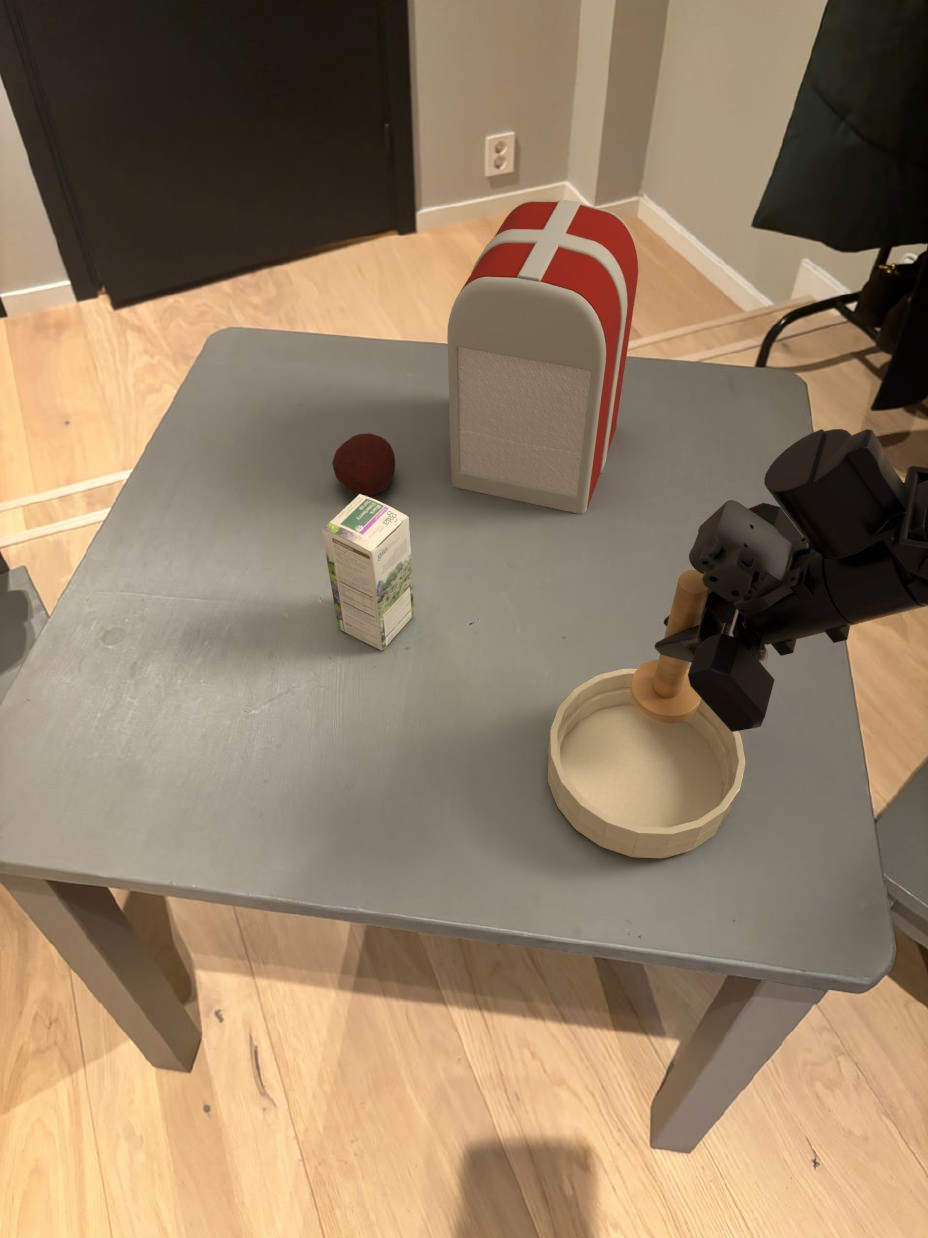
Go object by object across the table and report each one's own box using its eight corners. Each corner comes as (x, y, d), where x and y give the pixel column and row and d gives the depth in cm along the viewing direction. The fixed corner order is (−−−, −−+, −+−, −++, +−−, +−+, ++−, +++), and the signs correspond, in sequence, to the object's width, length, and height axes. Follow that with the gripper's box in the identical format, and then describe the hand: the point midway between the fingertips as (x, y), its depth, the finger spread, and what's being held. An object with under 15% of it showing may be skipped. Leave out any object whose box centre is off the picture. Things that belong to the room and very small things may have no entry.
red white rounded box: (447, 486, 104) (440, 267, 84) (492, 398, 115) (495, 185, 94) (586, 515, 101) (615, 295, 80) (619, 422, 112) (651, 206, 91)
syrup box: (370, 594, 94) (356, 489, 83) (417, 617, 92) (409, 512, 81) (337, 630, 91) (318, 526, 80) (384, 654, 89) (371, 551, 78)
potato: (322, 498, 103) (315, 458, 99) (352, 455, 108) (347, 414, 104) (381, 513, 102) (376, 473, 97) (409, 468, 107) (406, 427, 102)
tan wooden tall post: (686, 662, 80) (719, 547, 69) (709, 718, 76) (748, 605, 65) (621, 672, 79) (644, 557, 68) (641, 728, 76) (668, 617, 64)
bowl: (745, 730, 83) (758, 698, 79) (712, 888, 73) (725, 861, 69) (576, 680, 86) (580, 648, 82) (522, 824, 77) (525, 795, 73)
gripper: (806, 416, 64) (636, 493, 75) (751, 599, 53) (561, 656, 64) (884, 526, 68) (711, 583, 79) (848, 717, 57) (652, 751, 68)
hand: (662, 636), depth 72 cm, fingers closed on tan wooden tall post, 2 cm apart
